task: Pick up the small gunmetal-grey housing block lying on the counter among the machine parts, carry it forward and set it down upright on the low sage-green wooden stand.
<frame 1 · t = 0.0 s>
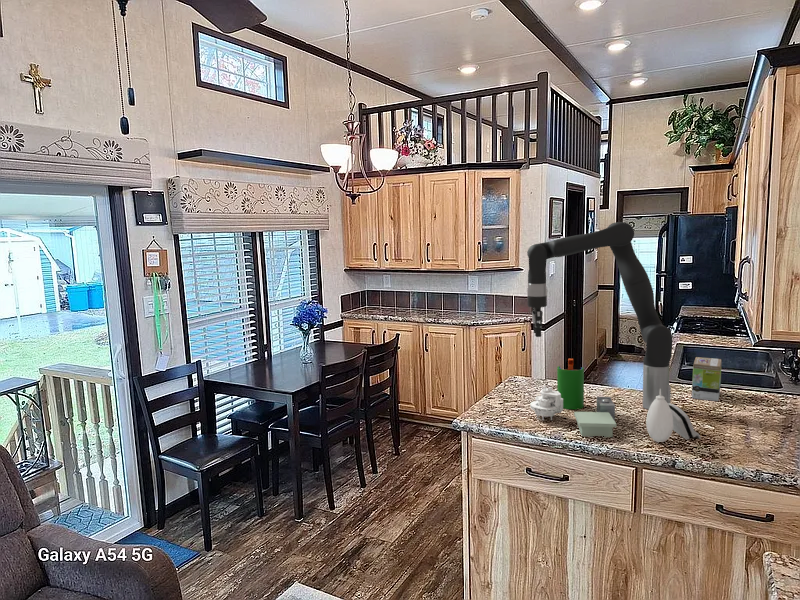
hand: (537, 334, 214), 29 cm above the worktop, tool pointing down, fingers open, 8 cm apart
tea box: (706, 395, 224), on the worktop
mechanical part: (546, 418, 203), on the worktop
housing: (605, 420, 199), on the worktop
sauce bottle: (659, 442, 177), on the worktop
stand: (594, 431, 188), on the worktop
motor: (570, 406, 216), on the worktop
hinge: (676, 431, 186), on the worktop
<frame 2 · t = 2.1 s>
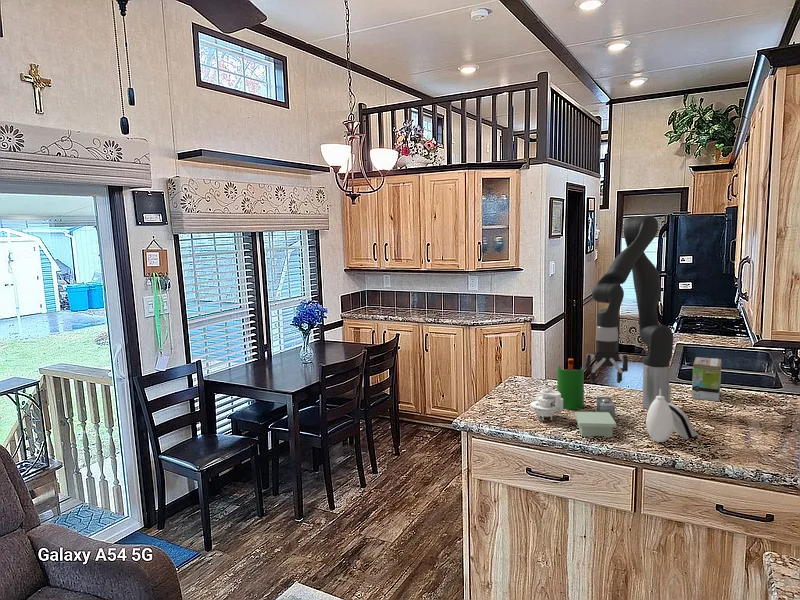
hand: (606, 382, 195), 15 cm above the worktop, tool pointing down, fingers open, 8 cm apart
nothing on the worktop moved.
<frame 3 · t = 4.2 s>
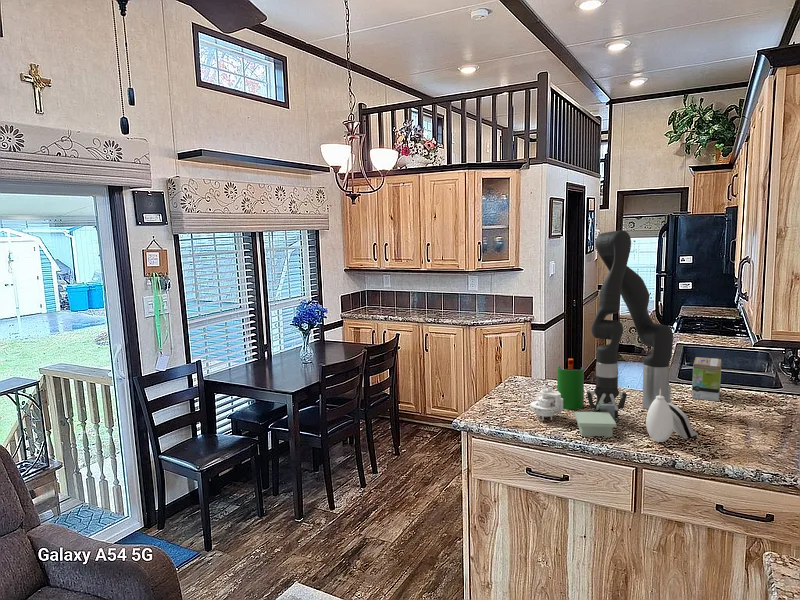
hand: (606, 419, 196), 1 cm above the worktop, tool pointing down, fingers closed on housing, 5 cm apart
housing: (605, 419, 199), on the worktop, touching gripper
everything else where it was.
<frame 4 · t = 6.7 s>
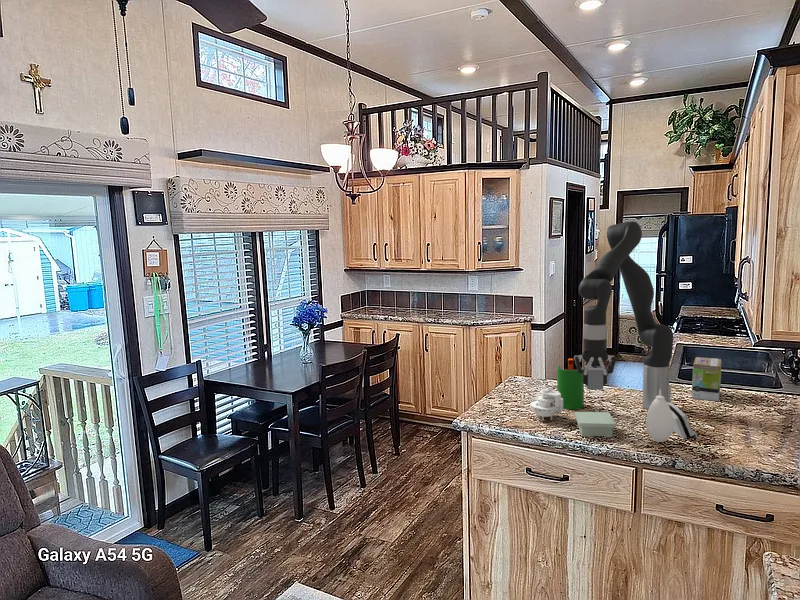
hand: (594, 384, 186), 17 cm above the worktop, tool pointing down, fingers closed on housing, 5 cm apart
housing: (593, 386, 188), point 16 cm above the worktop, touching gripper
everything else where it was.
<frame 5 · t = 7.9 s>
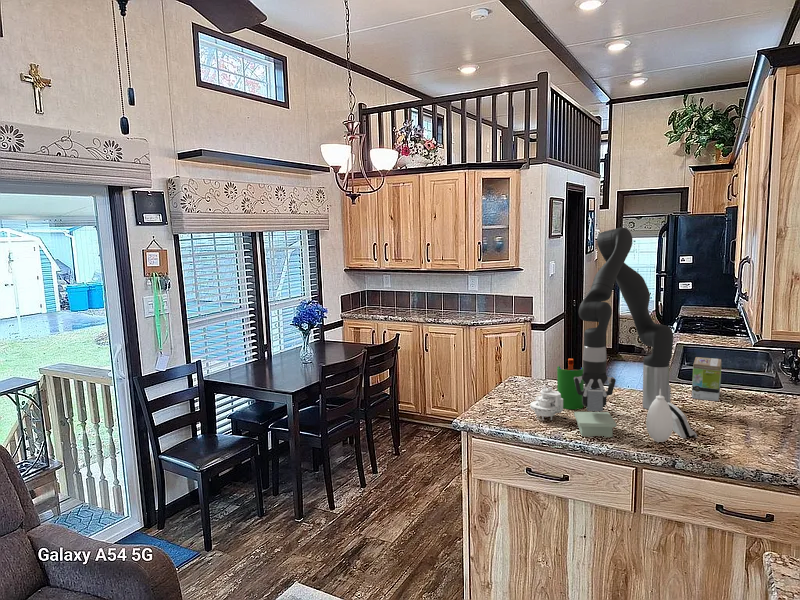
hand: (594, 406, 187), 9 cm above the worktop, tool pointing down, fingers closed on housing, 5 cm apart
housing: (593, 407, 189), point 8 cm above the worktop, touching gripper
when the fingers open (8 cm above the worktop, at t = 9.0 s): housing drops 2 cm, resting on stand.
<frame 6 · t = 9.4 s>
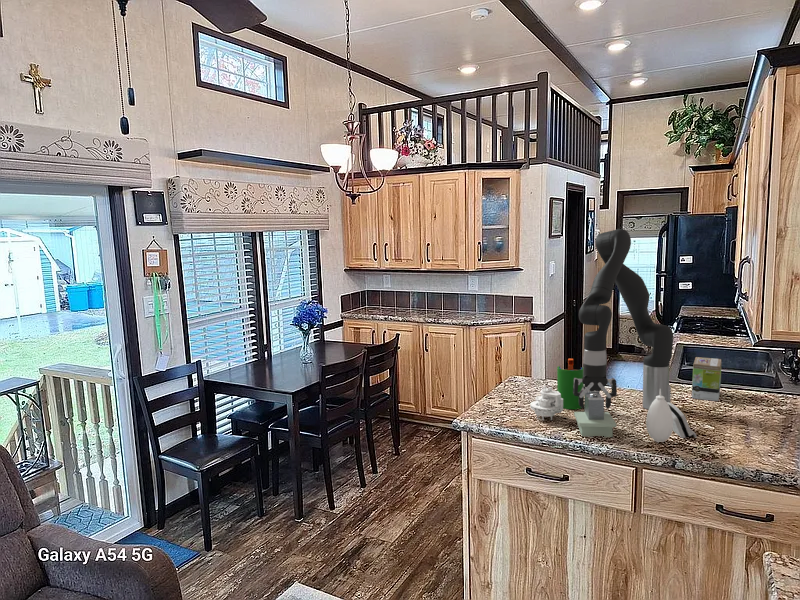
hand: (594, 407, 187), 9 cm above the worktop, tool pointing down, fingers open, 8 cm apart
housing: (593, 415, 189), point 5 cm above the worktop, touching stand
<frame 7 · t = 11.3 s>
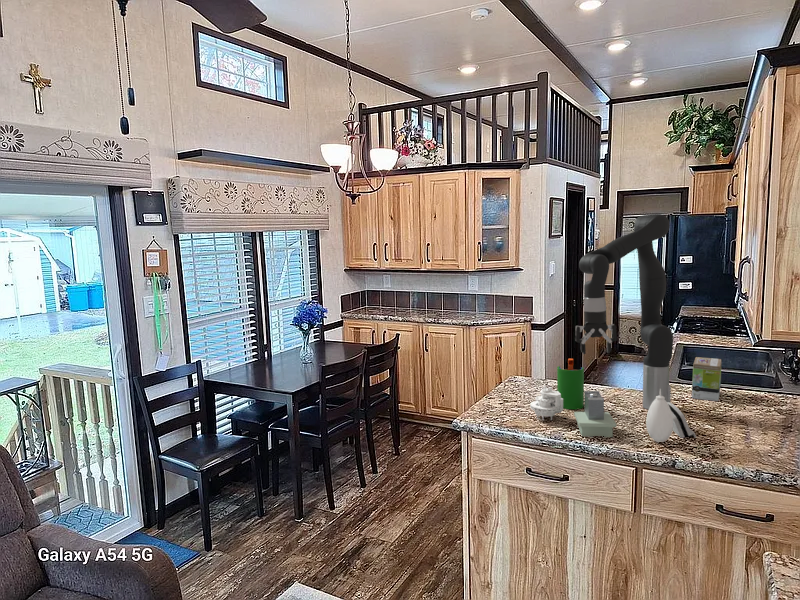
hand: (596, 353, 196), 25 cm above the worktop, tool pointing down, fingers open, 8 cm apart
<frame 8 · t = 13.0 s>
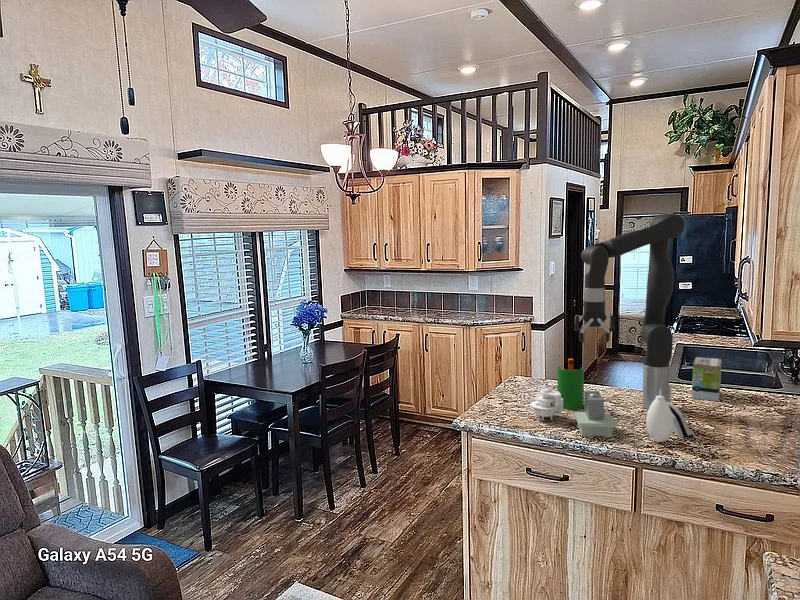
hand: (594, 342, 201), 28 cm above the worktop, tool pointing down, fingers open, 8 cm apart
at the end: housing inside the target area on the stand (2.3 cm from its centre), point 5.0 cm above the stand's base; housing tilted 0°; the gripper is holding nothing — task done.
